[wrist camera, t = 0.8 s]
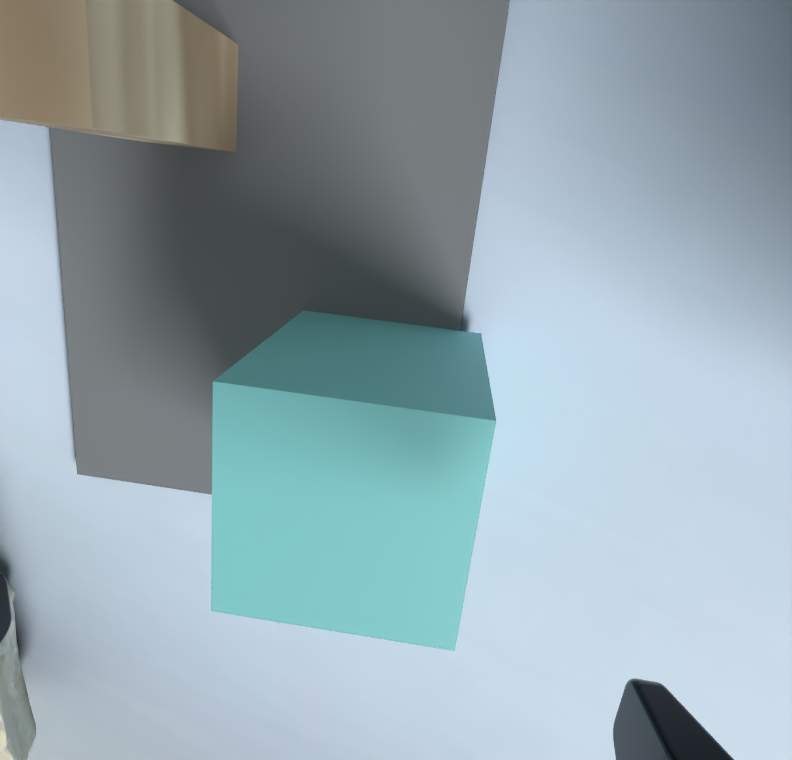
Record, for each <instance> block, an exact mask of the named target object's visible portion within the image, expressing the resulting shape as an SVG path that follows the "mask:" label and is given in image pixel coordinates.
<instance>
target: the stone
mask: <svg viewBox="0 0 792 760" xmlns="http://www.w3.org/2000/svg"><path fill="white" fill-rule="evenodd" d="M7 584H8V591H9V599H10V606H11V614H12V619H11V624H10V627H9V630H8V632H7V634H6V636H5V637H4V639H3V640H2V642H1V643H0V760H27V758H28V754H29V752H30V750H31V748H32V746H33V743H34V740H35V736H36V725H35V721H34V717H33V714H32V710H31V706H30V703H29V698H28V694H27V689H26V685H25V681H24V677H23V673H22V668H21V663H20V658H19V652H18V646H17V639H16V626H15V611H14V606H13V601H14V597H15V590H14V589H13V587H12V586H11V585H10V583H9V582H8V581H7Z"/></svg>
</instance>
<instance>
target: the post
mask: <svg viewBox="0 0 792 760" xmlns="http://www.w3.org/2000/svg"><path fill="white" fill-rule="evenodd" d="M237 84H238V44H237V43H235V42H234V41H232V40H231V39H229V38H228V37H226V36H225V35H224V34H222V33H221V32H219V31H218V30H216V29H215V28H213V27H212V26H210V25H209V24H207V23H206V22H204V21H203V20H201V19H200V18H198V17H197V16H195V15H194V14H192V13H191V12H189V11H188V10H186V9H185V8H183V7H182V6H180V5H179V4H177V3H176V2H174V1H173V0H0V119H1V120H7V121H14V122H20V123H26V124H33V125H39V126H45V127H52V128H58V129H65V130H71V131H77V132H84V133H90V134H97V135H103V136H109V137H116V138H122V139H128V140H135V141H141V142H149V143H158V144H166V145H175V146H184V147H192V148H201V149H210V150H219V151H227V152H236V139H237Z"/></svg>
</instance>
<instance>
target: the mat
mask: <svg viewBox="0 0 792 760" xmlns="http://www.w3.org/2000/svg"><path fill="white" fill-rule="evenodd" d="M173 1H174V2H176V3H177V4H179V5H180V6H182V7H183V8H185V9H186V10H188V11H189V12H191V13H192V14H194V15H195V16H197V17H198V18H200V19H201V20H203V21H204V22H206V23H207V24H209V25H210V26H212V27H213V28H215V29H216V30H218V31H219V32H221V33H222V34H224V35H225V36H226V37H228V38H229V39H231V40H232V41H234V42H235V43H237V44H238V84H237V139H236V152H227V151H219V150H210V149H201V148H192V147H184V146H175V145H166V144H158V143H149V142H141V141H135V140H128V139H122V138H116V137H109V136H103V135H97V134H90V133H84V132H77V131H71V130H65V129H58V128H52V127H50V136H51V148H52V161H53V174H54V186H55V199H56V212H57V224H58V237H59V250H60V262H61V275H62V288H63V300H64V313H65V326H66V338H67V351H68V363H69V376H70V389H71V401H72V414H73V427H74V439H75V452H76V465H77V474H80V475H87V476H94V477H100V478H107V479H113V480H120V481H127V482H133V483H140V484H146V485H153V486H160V487H166V488H173V489H179V490H186V491H193V492H199V493H206V494H212V424H213V381H214V380H215V379H216V378H218V377H219V376H220V375H222V374H223V373H224V372H225V371H227V370H228V369H229V368H230V367H232V366H233V365H234V364H236V363H237V362H238V361H239V360H241V359H242V358H243V357H245V356H246V355H247V354H248V353H250V352H251V351H252V350H253V349H255V348H256V347H257V346H259V345H260V344H261V343H262V342H264V341H265V340H266V339H268V338H269V337H270V336H271V335H273V334H274V333H275V332H276V331H278V330H279V329H280V328H282V327H283V326H284V325H285V324H287V323H288V322H289V321H290V320H292V319H293V318H294V317H296V316H297V315H298V314H299V313H301V312H302V311H303V310H304V311H312V312H320V313H327V314H335V315H343V316H350V317H358V318H366V319H373V320H381V321H389V322H396V323H404V324H411V325H419V326H427V327H434V328H442V329H450V330H457V331H460V328H461V321H462V314H463V308H464V301H465V294H466V288H467V281H468V274H469V268H470V261H471V254H472V248H473V241H474V235H475V228H476V221H477V215H478V208H479V201H480V195H481V188H482V181H483V175H484V168H485V161H486V155H487V148H488V141H489V135H490V128H491V121H492V115H493V108H494V101H495V95H496V88H497V81H498V75H499V68H500V61H501V55H502V48H503V41H504V35H505V28H506V21H507V15H508V8H509V1H510V0H173Z"/></svg>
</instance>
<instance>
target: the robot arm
mask: <svg viewBox="0 0 792 760" xmlns="http://www.w3.org/2000/svg"><path fill="white" fill-rule="evenodd" d="M11 619H12V614H11V606H10V599H9V591H8V584H7V579H6V577H5V576H4V574H3V573H1V572H0V643H1V642H2V640H3V639H4V637H5V636H6V634H7V632H8V630H9V627H10V624H11ZM613 740H614V748H615V754H616V760H734V759H733V758H732V757H731V756H730V755H729V754H728V753H727V752H726V751H725V750H724V749H723V748H722V746H721V745H720V744H719V743H718V742H717V741H716V740H715V739H714V738H713V737H712V736H711V735H710V734H709V733H708V732H707V731H706V730H705V729H704V727H703V726H702V725H701V724H700V723H699V722H698V721H697V720H696V719H695V718H694V717H693V716H692V715H691V714H690V713H689V712H688V711H687V710H686V708H685V707H684V706H683V705H682V704H681V703H680V702H679V701H678V700H677V699H676V698H675V697H674V696H673V695H672V694H671V693H670V692H669V691H668V689H667V688H665V687H664V686H663V685H662V684H660V683H657V682H653V681H647V680H641V679H631V680H629V681H628V682H627V684H626V686H625V689H624V692H623V696H622V699H621V702H620V705H619V708H618V712H617V715H616V718H615V722H614V728H613Z"/></svg>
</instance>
